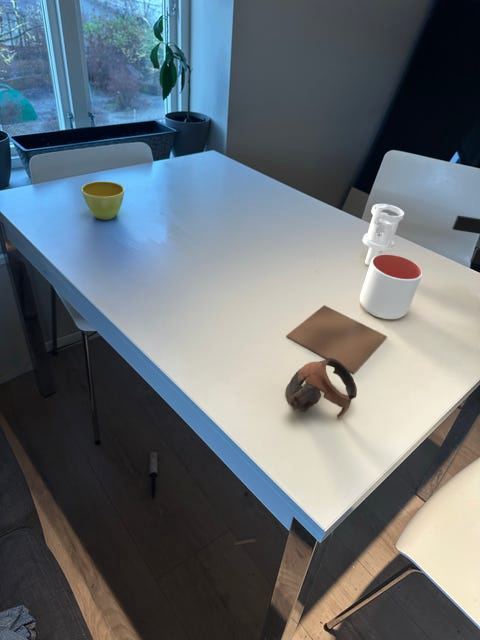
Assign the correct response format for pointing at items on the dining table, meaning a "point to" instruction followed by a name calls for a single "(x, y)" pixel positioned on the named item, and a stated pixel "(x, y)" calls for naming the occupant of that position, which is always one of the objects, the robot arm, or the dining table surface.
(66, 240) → the dining table surface
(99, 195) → the flower pot
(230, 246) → the dining table surface
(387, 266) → the cup
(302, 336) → the coaster
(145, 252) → the dining table surface
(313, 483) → the dining table surface
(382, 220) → the white openwork cylinder
